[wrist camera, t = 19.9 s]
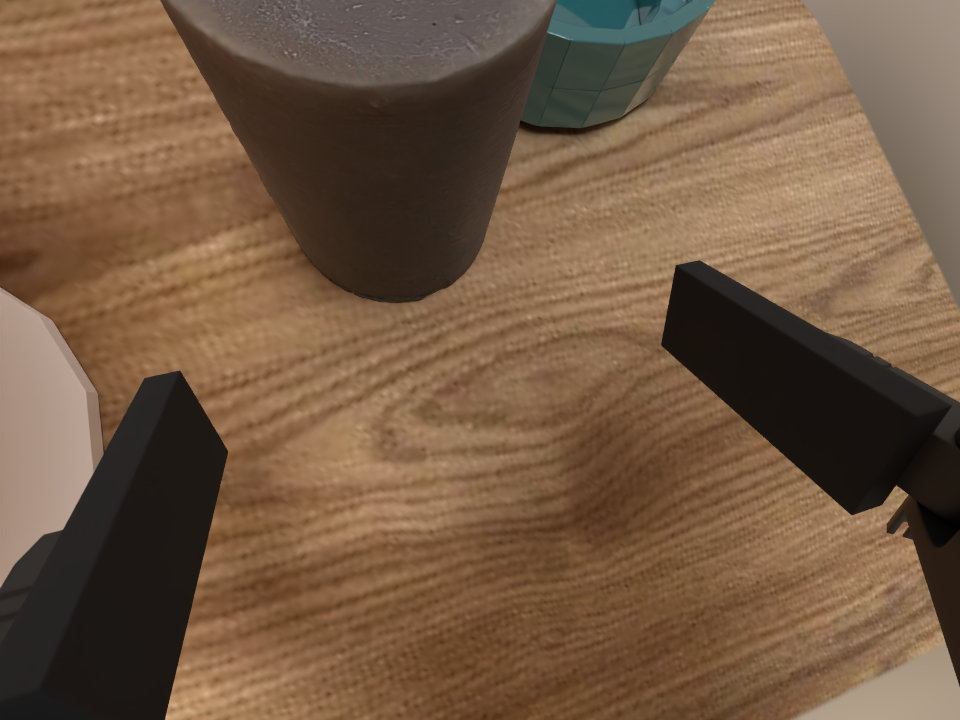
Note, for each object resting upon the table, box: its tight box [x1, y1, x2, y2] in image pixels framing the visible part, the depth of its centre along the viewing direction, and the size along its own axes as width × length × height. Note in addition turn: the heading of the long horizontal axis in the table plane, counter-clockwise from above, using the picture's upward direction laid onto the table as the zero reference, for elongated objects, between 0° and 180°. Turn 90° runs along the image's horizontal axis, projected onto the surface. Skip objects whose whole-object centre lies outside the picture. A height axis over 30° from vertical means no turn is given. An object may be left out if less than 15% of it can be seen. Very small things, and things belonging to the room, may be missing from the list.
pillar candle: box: [161, 0, 557, 302], centre depth 16 cm, size 10×10×15 cm
